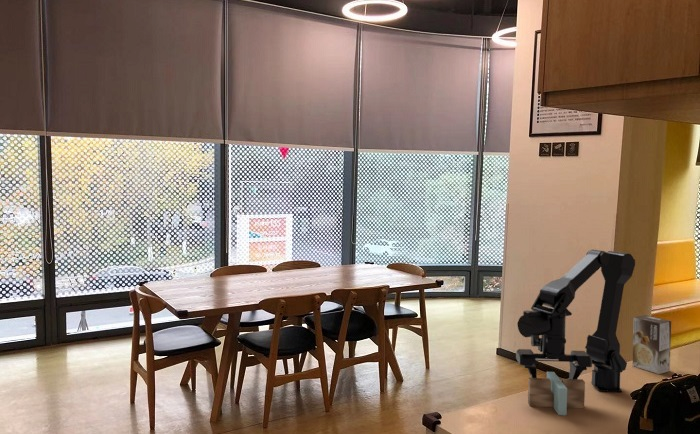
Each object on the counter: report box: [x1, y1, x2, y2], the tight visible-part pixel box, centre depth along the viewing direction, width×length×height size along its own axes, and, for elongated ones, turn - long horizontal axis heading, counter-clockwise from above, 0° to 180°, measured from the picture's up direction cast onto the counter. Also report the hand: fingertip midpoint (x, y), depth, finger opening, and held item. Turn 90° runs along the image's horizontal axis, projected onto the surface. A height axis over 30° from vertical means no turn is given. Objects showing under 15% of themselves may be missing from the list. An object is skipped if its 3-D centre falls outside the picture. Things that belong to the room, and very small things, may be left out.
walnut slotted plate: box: [527, 377, 586, 409], centre depth 143 cm, size 14×2×7 cm, turn 84°
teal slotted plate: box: [546, 371, 568, 416], centre depth 144 cm, size 12×2×7 cm, turn 174°
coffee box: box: [632, 314, 672, 375], centre depth 171 cm, size 9×6×16 cm
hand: (552, 388), depth 147 cm, fingers open, 9 cm apart
